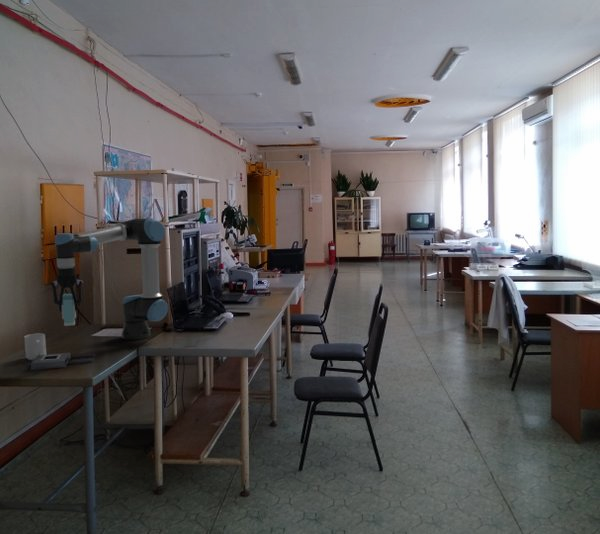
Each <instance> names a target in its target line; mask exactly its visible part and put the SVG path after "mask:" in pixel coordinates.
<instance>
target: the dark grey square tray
mask: <svg viewBox="0 0 600 534" xmlns="http://www.w3.org/2000/svg"><path fill="white" fill-rule="evenodd" d="M95 357H96V354H94V353H92V354H82V355H72V356H71V359H70V360H69V362H68V365H79V364H91V363H93V362H94V360H95Z"/></svg>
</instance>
